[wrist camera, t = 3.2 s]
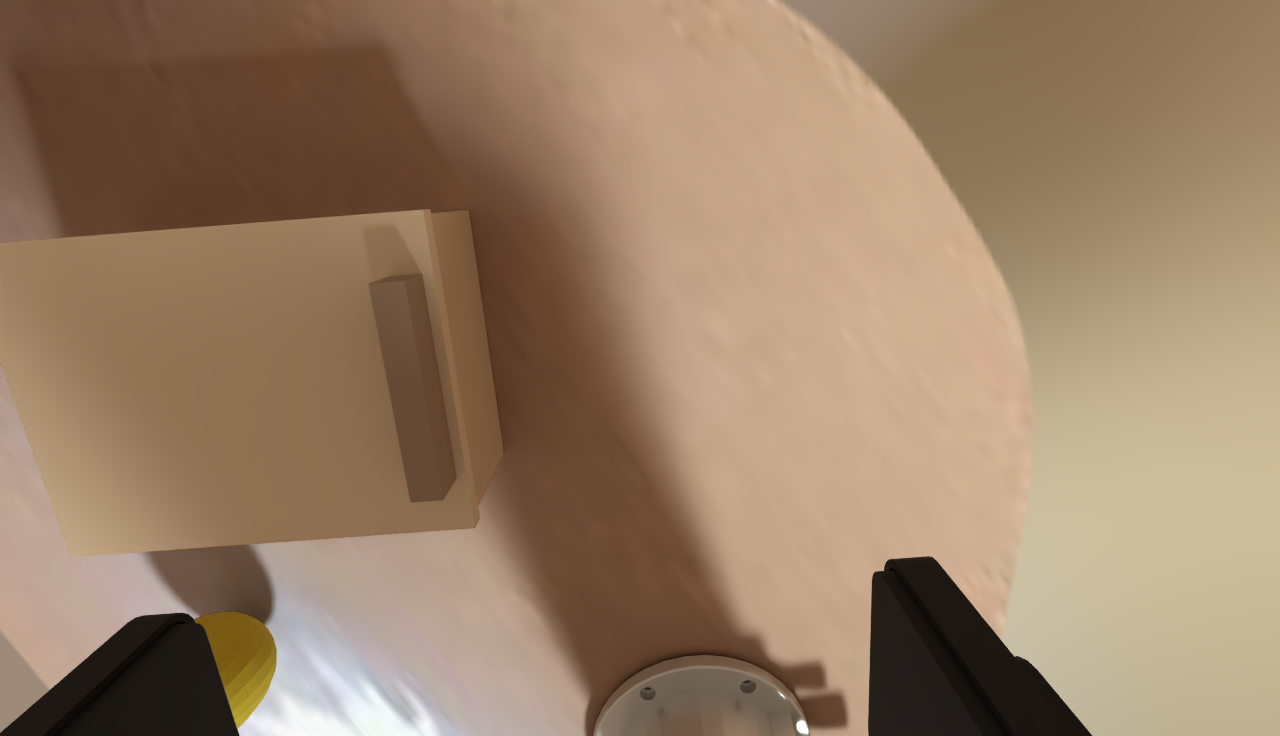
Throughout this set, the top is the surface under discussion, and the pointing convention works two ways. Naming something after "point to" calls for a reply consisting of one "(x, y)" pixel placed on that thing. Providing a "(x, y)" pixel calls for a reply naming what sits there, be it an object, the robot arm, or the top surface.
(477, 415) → the mailer box
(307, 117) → the top surface
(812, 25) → the top surface
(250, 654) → the lemon
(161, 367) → the mailer lid
